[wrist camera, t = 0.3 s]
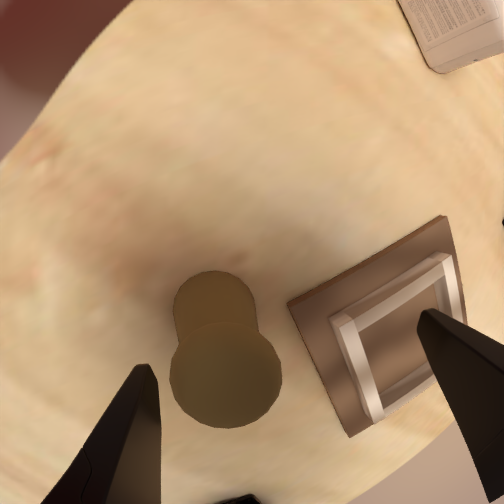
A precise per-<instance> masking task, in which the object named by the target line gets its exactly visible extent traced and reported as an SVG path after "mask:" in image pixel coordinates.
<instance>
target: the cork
mask: <svg viewBox="0 0 504 504" xmlns="http://www.w3.org/2000/svg"><path fill="white" fill-rule="evenodd" d="M173 315H174V320H175V325H176V330H177V336H178V341H179V346H178V348H177V350H176V352H175V354H174V356H173V358H172V361H171V368H170V378H169V381H170V384H171V388H172V391H173V395H174V397H175V400H176V401H177V403H178V404H179V405H180V407H181V408H182V409H183V411H184V412H185V413H187V414H188V415H190V416H191V417H192V418H194V419H195V420H197V421H198V422H200V423H202V424H205V425H208V426H211V427H214V428H227V429H229V428H235V427H241V426H245V425H247V424H249V423H252V422H254V421H256V420H258V419H259V418H260V417H262V416H263V415H264V414H265V413H267V412H268V410H269V409H270V407H271V406H272V405H273V403H274V402H275V400H276V399H277V397H278V396H279V392H280V389H281V385H282V371H281V362H280V360H279V358H278V356H277V354H276V352H275V350H274V348H273V346H272V345H271V343H270V342H269V341H268V340H267V339H265V338H264V337H263V336H262V335H261V334H260V333H259V331H258V324H257V317H256V310H255V303H254V298H253V296H252V294H251V292H250V290H249V288H248V287H247V286H246V285H245V284H244V283H243V282H242V281H241V280H240V279H239V278H237V277H235V276H233V275H231V274H229V273H226V272H220V271H209V272H202V273H200V274H198V275H196V276H194V277H191V278H190V279H188V280H187V281H186V282H185V283H184V284H183V285H182V286H181V287H180V289H179V291H178V293H177V295H176V297H175V299H174V306H173Z"/></svg>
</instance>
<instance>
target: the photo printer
mask: <svg viewBox="0 0 504 504" xmlns="http://www.w3.org/2000/svg"><path fill="white" fill-rule="evenodd" d="M398 1H399V3H400V5H401V7H402V9H403V11H404V13H405V15H406V17H407V20H408V22H409V24H410V26H411V28H412V30H413V33H414V35H415V37H416V39H417V41H418V44H419V46H420V48H421V51H422V53H423V55H424V57H425V60H426V62H427V63H428V65H429V67H430V68H432V69H433V70H434V71H436V72H438V73H442V74H444V73H448V72H450V71H453V70H456V69H458V68H461V67H464V66H467V65H469V64H472V63H475V62H477V61H480V60H483V59H486V58H489V57H492V56H495V55H498V54H501V53H504V0H398Z"/></svg>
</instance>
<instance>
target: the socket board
mask: <svg viewBox="0 0 504 504" xmlns="http://www.w3.org/2000/svg"><path fill="white" fill-rule="evenodd" d="M287 305H288V308H289V310H290V312H291V314H292V316H293V318H294V321H295V323H296V325H297V327H298V329H299V331H300V334H301V336H302V338H303V340H304V342H305V344H306V347H307V349H308V351H309V353H310V355H311V357H312V360H313V362H314V364H315V366H316V368H317V371H318V373H319V375H320V377H321V379H322V382H323V384H324V386H325V388H326V390H327V392H328V395H329V397H330V399H331V401H332V403H333V406H334V408H335V410H336V412H337V415H338V417H339V419H340V421H341V423H342V426H343V428H344V430H345V432H346V434H347V435H348V437H349V438H351V437H353V436H354V435H356V434H358V433H360V432H361V431H363V430H365V429H366V428H368V427H370V426H371V425H373V424H376V423H378V422H379V421H381V420H382V419H384V418H385V417H387V416H389V415H390V414H392V413H393V412H395V411H396V410H398V409H399V408H401V407H402V406H404V405H405V404H406V403H408V402H409V401H411V400H412V399H414V398H415V397H416V396H418V395H419V394H421V393H422V392H423V391H425V390H426V389H427V388H429V387H430V386H431V385H433V384H434V383H435V382H437V379H436V377H435V375H434V373H433V371H432V369H431V367H430V365H429V362H428V360H427V357H426V354H425V352H424V349H423V347H422V344H421V342H420V340H419V337H418V335H417V330H416V328H417V324H418V321H419V317H420V314H421V312H422V311H423V310H425V309H428V308H435V309H437V310H439V311H441V312H442V313H444V314H446V315H448V316H450V317H452V318H454V319H456V320H458V321H460V322H462V323H463V324H465V325H467V326H468V324H467V316H466V308H465V301H464V294H463V288H462V282H461V276H460V271H459V266H458V261H457V256H456V251H455V247H454V242H453V238H452V234H451V230H450V226H449V222H448V218H447V216H441V215H440V216H438V217H437V218H435V219H433V220H432V221H430V222H429V223H427V224H425V225H424V226H422V227H421V228H419V229H417V230H416V231H414V232H412V233H411V234H409V235H407V236H406V237H404V238H402V239H401V240H399V241H397V242H396V243H394V244H392V245H391V246H389V247H387V248H386V249H384V250H382V251H381V252H379V253H377V254H375V255H374V256H372V257H370V258H368V259H367V260H365V261H363V262H361V263H360V264H358V265H356V266H354V267H353V268H351V269H349V270H347V271H346V272H344V273H342V274H340V275H338V276H337V277H335V278H333V279H331V280H329V281H328V282H326V283H324V284H322V285H320V286H318V287H316V288H315V289H313V290H311V291H309V292H307V293H305V294H303V295H302V296H300V297H298V298H296V299H294V300H292V301H290V302H288V303H287Z"/></svg>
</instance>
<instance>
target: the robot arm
mask: <svg viewBox="0 0 504 504" xmlns="http://www.w3.org/2000/svg"><path fill="white" fill-rule="evenodd" d="M416 330H417V335H418V337H419V340H420V342H421V344H422V347H423V349H424V352H425V354H426V357H427V360H428V362H429V365H430V367H431V369H432V371H433V373H434V375H435V377H436V379H437V381H438V383H439V385H440V387H441V389H442V392H443V394H444V396H445V398H446V400H447V402H448V404H449V406H450V408H451V410H452V413H453V415H454V417H455V419H456V421H457V423H458V426H459V428H460V430H461V432H462V435H463V437H464V439H465V442H466V444H467V446H468V448H469V451H470V453H471V456H472V459H473V461H474V464H475V467H476V469H477V472H478V474H479V477H480V480H481V482H482V485H483V487H484V490H485V493H486V496H487V498H488V501H489V503H491V502H493V501H494V500H496V499H498V498H499V497H500V496H502V495H504V345H503V344H501V343H499V342H497V341H495V340H493V339H492V338H490V337H488V336H486V335H484V334H482V333H480V332H479V331H477V330H475V329H473V328H471V327H469V326H467V325H465V324H463V323H462V322H460V321H458V320H456V319H454V318H452V317H450V316H448V315H446V314H444V313H442V312H441V311H439V310H437V309H435V308H428V309H425V310H423V311H422V312H421V314H420V317H419V321H418V324H417V328H416ZM40 504H161V416H160V403H159V389H158V382H157V379H156V377H155V375H154V373H153V371H152V369H151V367H150V365H149V364H138V365H136V366H135V367H134V368H133V370H132V371H131V373H130V374H129V376H128V377H127V379H126V380H125V382H124V383H123V385H122V386H121V388H120V389H119V391H118V392H117V394H116V395H115V397H114V398H113V400H112V401H111V403H110V404H109V406H108V407H107V409H106V411H105V412H104V414H103V415H102V417H101V418H100V420H99V421H98V423H97V424H96V426H95V428H94V429H93V431H92V432H91V434H90V435H89V437H88V439H87V440H86V442H85V443H84V445H83V448H81V449H80V451H79V453H78V454H77V456H76V457H75V459H74V460H73V462H72V463H71V465H70V466H69V468H68V469H67V470H66V472H65V473H64V474H63V476H62V477H61V478H60V480H59V481H58V482H57V484H56V485H55V486H54V487H53V489H52V490H51V491H50V492H49V494H48V495H47V496H46V497H45V499H44V500H43V501H42V502H41V503H40ZM223 504H262V503H261V502H260V501H259V500H258V499H257V498H256V497H255V496H254V495H247V496H245V497H242V498H239V499H236V500H233V501H230V502H227V503H223Z"/></svg>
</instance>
